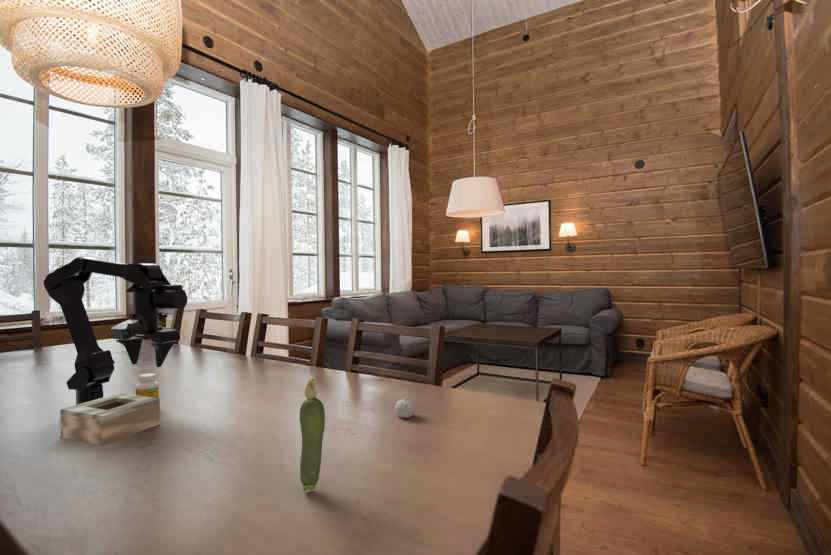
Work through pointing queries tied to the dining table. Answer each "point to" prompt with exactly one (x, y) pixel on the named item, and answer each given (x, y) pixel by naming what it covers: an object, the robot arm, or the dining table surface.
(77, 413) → the crate
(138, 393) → the supplement bottle
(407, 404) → the garlic
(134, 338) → the robot arm
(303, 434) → the vegetable
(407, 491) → the dining table surface
